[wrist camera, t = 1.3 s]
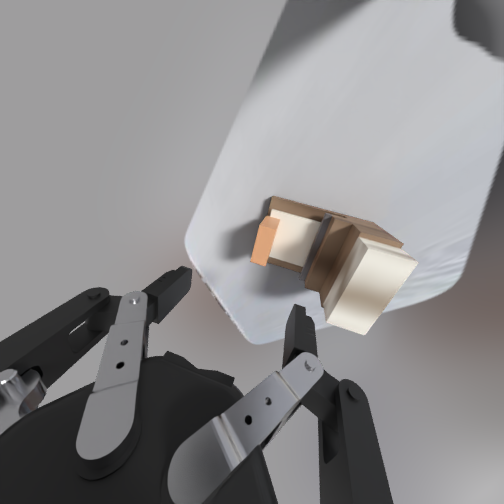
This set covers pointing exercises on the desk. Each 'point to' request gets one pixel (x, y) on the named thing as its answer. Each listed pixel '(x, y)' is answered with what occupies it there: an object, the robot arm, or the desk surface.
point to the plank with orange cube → (284, 238)
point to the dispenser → (349, 265)
